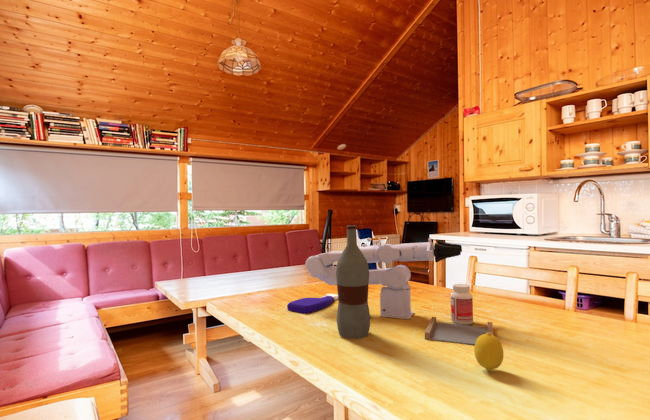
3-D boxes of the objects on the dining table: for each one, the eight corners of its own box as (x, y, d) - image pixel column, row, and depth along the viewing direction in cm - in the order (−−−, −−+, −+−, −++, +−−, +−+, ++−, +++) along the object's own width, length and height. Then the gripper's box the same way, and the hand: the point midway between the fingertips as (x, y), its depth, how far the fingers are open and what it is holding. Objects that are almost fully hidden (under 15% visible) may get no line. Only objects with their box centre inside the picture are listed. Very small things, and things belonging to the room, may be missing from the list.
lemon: (470, 366, 78) (469, 329, 78) (494, 364, 79) (493, 327, 79) (483, 377, 73) (482, 337, 73) (509, 376, 73) (508, 336, 73)
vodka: (373, 330, 103) (371, 224, 103) (366, 341, 95) (364, 226, 95) (342, 327, 106) (340, 224, 106) (332, 337, 98) (330, 226, 98)
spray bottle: (308, 306, 120) (347, 293, 140) (283, 302, 127) (324, 290, 147) (308, 315, 120) (347, 301, 140) (284, 311, 127) (324, 297, 147)
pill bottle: (477, 322, 108) (476, 285, 108) (464, 326, 105) (463, 288, 105) (459, 318, 113) (458, 282, 113) (446, 321, 110) (446, 285, 110)
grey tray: (424, 339, 95) (424, 332, 95) (432, 322, 109) (432, 316, 109) (493, 347, 89) (493, 340, 89) (492, 328, 102) (492, 322, 102)
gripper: (410, 241, 109) (458, 238, 103) (418, 237, 122) (460, 234, 117) (412, 264, 109) (460, 263, 103) (420, 258, 122) (463, 256, 116)
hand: (461, 249), depth 110 cm, fingers open, 7 cm apart
